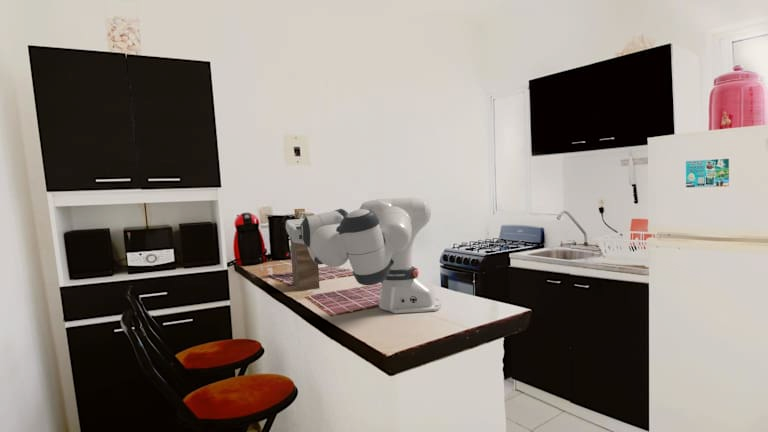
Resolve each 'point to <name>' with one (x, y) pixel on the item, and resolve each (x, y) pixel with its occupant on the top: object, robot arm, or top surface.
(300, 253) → the stand
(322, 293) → the top surface
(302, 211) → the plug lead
